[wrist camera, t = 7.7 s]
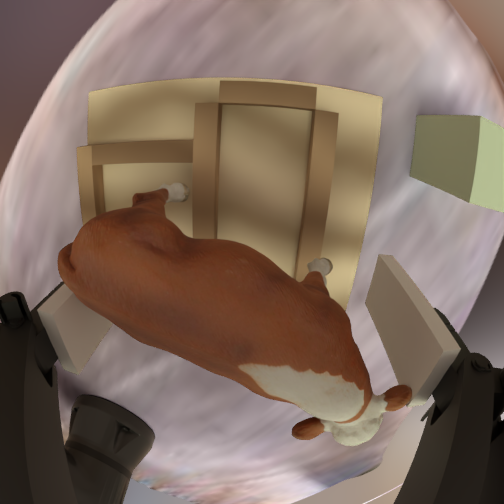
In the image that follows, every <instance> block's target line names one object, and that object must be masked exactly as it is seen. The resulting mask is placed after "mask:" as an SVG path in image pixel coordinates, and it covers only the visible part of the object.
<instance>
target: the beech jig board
mask: <svg viewBox="0 0 504 504" xmlns="http://www.w3.org/2000/svg"><path fill="white" fill-rule="evenodd" d="M382 99H383V97H379V96H375V95H371V94H367V93H362V92H358V91H353V90H348V89H343V88H337V87H331V86H325V85H318V84H311V83H304V82H295V81H285V80H273V79H258V78H190V79H174V80H163V81H153V82H144V83H137V84H130V85H123V86H117V87H112V88H106V89H101V90H96V91H92V92H89V101H88V145H87V146H82V147H77V167H78V182H79V194H80V204H81V213H82V221H83V226H84V225H85V224H86V223H87V222H88V221H89V220H90V219H92V218H94V217H96V216H97V215H99V214H101V213H105V212H108V211H112V210H116V209H121V208H128V207H132V205H133V202H132V197H133V195H134V194H136V193H146V192H151V191H154V190H156V189H158V188H159V187H160V186H161V185H162V184H164V183H165V184H167V185H172V184H173V183H183V184H185V185H186V186H187V187H188V188H189V190H190V194H189V196H188V199H187V200H186V201H185V202H175V203H174V202H168V203H166V204H165V205H164V207H165V215H166V218H167V219H169V220H170V221H172V222H173V223H174V224H175V225H176V226H177V227H178V228H179V229H180V230H181V231H182V233H183V234H185V235H186V236H188V237H191V238H195V239H225V240H231V241H236V242H239V243H242V244H245V245H247V246H249V247H251V248H253V249H255V250H257V251H258V252H260V253H262V254H263V255H265V256H266V257H268V258H269V259H270V260H272V261H273V262H274V263H275V264H276V265H277V266H278V267H280V268H281V269H282V270H283V271H284V272H285V273H287V274H288V275H289V276H291V277H292V278H294V279H295V280H296V281H298V282H301V281H303V280H304V278H305V276H306V275H307V274H308V273H309V270H308V267H307V264H308V263H310V262H312V261H313V260H314V258H318V259H321V258H327V259H329V260H330V261H331V263H332V265H333V269H332V271H331V272H330V273H329V274H328V275H326V276H325V277H326V280H327V285H326V288H327V289H328V292H329V295H330V297H331V298H332V299H334V300H335V301H336V302H337V303H338V304H340V305H341V307H342V308H343V309H344V310H345V311H346V307H347V304H348V300H349V296H350V293H351V289H352V285H353V281H354V277H355V273H356V269H357V265H358V261H359V257H360V252H361V248H362V243H363V238H364V234H365V229H366V224H367V218H368V213H369V208H370V202H371V196H372V190H373V183H374V177H375V170H376V162H377V154H378V146H379V136H380V126H381V114H382Z"/></svg>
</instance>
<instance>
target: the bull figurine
mask: <svg viewBox="0 0 504 504" xmlns="http://www.w3.org/2000/svg"><path fill="white" fill-rule="evenodd" d="M189 194H190V190H189V188H188V187H187V186H186V185H185V184H183V183H173V184H172V185H167V184H165V183H164V184H162V185H161V186H160V187H159V188H158V189H156V190H154V191H151V192H146V193H136V194H134V195H133V197H132V202H133V205H132V207H128V208H121V209H116V210H112V211H108V212H105V213H101V214H99V215H97V216H96V217H94V218H92V219H90V220H89V221H88V222H87V223H86V224H85V225H84V226H83V227H82V228H81V229H80V231H79V233H78V235H77V236H76V238H75V240H74V242H72V243H70V244H68V245H67V246H65V247H64V248H63V249H62V250H61V251H60V252H59V255H58V270H59V274H60V276H61V278H62V280H63V282H64V283H65V285H66V286H67V287H68V288H69V289H70V290H71V291H72V292H73V293H74V294H75V296H76V297H77V298H78V299H79V300H80V301H81V302H82V303H83V304H84V305H85V306H87V307H88V308H90V309H91V310H93V311H94V312H96V313H98V314H99V315H101V316H103V317H105V318H106V319H108V320H109V321H111V322H112V323H114V324H115V325H117V326H118V327H119V328H121V329H122V330H124V331H125V332H126V333H127V334H129V335H130V336H131V337H133V338H135V339H136V340H138V341H139V342H142V343H144V344H147V345H150V346H153V347H156V348H159V349H162V350H165V351H168V352H170V353H173V354H175V355H177V356H179V357H182V358H184V359H186V360H188V361H190V362H192V363H194V364H196V365H198V366H200V367H202V368H204V369H206V370H208V371H210V372H213V373H215V374H218V375H221V376H224V377H227V378H230V379H232V380H235V381H236V382H238V383H240V384H242V385H243V386H245V387H246V388H248V389H249V390H251V391H252V392H254V393H256V394H259V395H261V396H263V397H266V398H269V399H273V400H278V401H283V402H288V403H292V404H295V405H297V406H298V407H299V408H301V409H302V410H304V411H306V412H307V413H309V414H311V415H313V416H314V417H312V418H308V419H306V420H303V421H301V422H299V423H297V424H296V425H295V426H294V427H293V428H292V436H293V437H295V438H297V439H300V440H310V439H313V438H315V437H316V436H318V435H319V434H321V433H323V432H326V431H330V432H332V434H333V437H334V439H335V440H336V441H337V442H339V443H340V444H343V445H345V446H356V445H359V444H361V443H363V442H366V441H368V440H370V439H371V438H372V437H373V435H374V434H375V433H376V432H377V430H378V429H379V427H380V424H381V422H382V420H383V414H382V413H383V412H386V411H396V410H398V409H400V408H402V407H404V406H405V405H406V404H407V403H408V402H409V401H410V399H411V398H412V389H411V388H410V387H408V386H407V385H398V386H394V387H392V388H390V389H389V390H387V391H386V392H385V393H383V394H382V395H378V396H376V395H374V394H373V391H372V388H371V384H370V377H369V373H368V371H367V368H366V366H365V363H364V361H363V359H362V356H361V354H360V351H359V348H358V346H357V345H356V343H355V342H354V339H353V337H352V332H351V323H350V320H349V317H348V316H347V314H346V312H345V310H344V309H343V308H342V307H341V305H340V304H338V303H337V302H336V301H335V300H334V299H332V298H331V297H330V295H329V292H328V289H327V288H326V285H327V280H326V277H325V276H326V275H328V274H329V273H330V272H331V271H332V269H333V265H332V263H331V261H330V260H329V259H327V258H321V259H318V258H314V260H313V261H312V262H310V263H308V264H307V267H308V270H309V273H308V274H307V275H306V276H305V278H304V280H303V281H301V282H298V281H296V280H295V279H294V278H292V277H291V276H289V275H288V274H287V273H285V272H284V271H283V270H282V269H281V268H280V267H278V266H277V265H276V264H275V263H274V262H273V261H272V260H270V259H269V258H268V257H266V256H265V255H263V254H262V253H260V252H258V251H257V250H255V249H253V248H251V247H249V246H247V245H245V244H242V243H239V242H236V241H231V240H225V239H195V238H191V237H188V236H186V235H185V234H183V233H182V231H181V230H180V229H179V228H178V227H177V226H176V225H175V224H174V223H173V222H172V221H170V220H169V219H167V218H166V215H165V207H164V205H165V204H166V203H168V202H174V203H175V202H185V201H186V200H187V199H188V196H189Z"/></svg>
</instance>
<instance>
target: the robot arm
mask: <svg viewBox="0 0 504 504" xmlns="http://www.w3.org/2000/svg"><path fill="white" fill-rule="evenodd" d="M365 304H366V306H367V308H368V311H369V313H370V315H371V317H372V320H373V322H374V324H375V326H376V329H377V331H378V333H379V336H380V338H381V340H382V343H383V345H384V348H385V350H386V353H387V355H388V358H389V360H390V363H391V365H392V368H393V370H394V373H395V376H396V378H397V381H398V383H399V385H407V386H408V387H410V388H411V389H412V398H411V399H410V401H409V402H408V403H407V404H406V406H407V407H413V406H419V405H424V404H425V402H426V401H427V400H428V399H429V397H430V396H431V394H432V395H433V397H434V400H435V402H434V403H433V404H432V406H431V407H430V408H429V410H428V411H427V412H426V413H425V415H424V416H423V417H422V419H421V421H424V419H425V418H426V417H427V416H428V418H427V421H426V425H425V428H424V431H423V434H422V437H421V440H420V443H419V446H418V449H417V451H416V454H415V457H414V460H413V462H412V465H411V467H410V469H409V472H408V474H407V476H406V479H405V481H404V483H403V485H402V488H401V490H400V492H399V494H398V496H397V498H396V500H395V502H394V504H504V420H503V421H502V420H501V416H500V415H501V414H502V413H503V412H504V368H503V369H500V368H493V367H492V364H491V363H490V361H489V360H488V359H487V358H486V357H485V356H483V355H481V354H479V353H470V352H469V350H468V349H467V347H466V345H465V344H464V342H463V341H462V339H461V338H460V336H459V335H458V333H457V332H455V329H454V328H453V326H452V325H450V322H449V321H448V319H447V318H446V316H445V315H444V314H443V313H441V312H440V311H439V310H438V309H436V308H433V307H432V306H431V304H430V303H429V302H428V300H427V299H426V298H425V296H424V295H423V293H422V292H421V291H420V290H419V288H418V287H417V286H416V284H415V283H414V282H413V280H412V279H411V278H410V277H409V275H408V274H407V273H406V272H405V270H404V269H403V268H402V267H401V265H400V264H399V263H398V262H397V260H396V259H395V258H394V257H393V256H391V255H381V254H379V256H378V259H377V263H376V267H375V271H374V274H373V278H372V282H371V285H370V288H369V292H368V295H367V298H366V302H365ZM0 319H1V322H2V323H0V504H123V501H124V497H125V494H126V491H127V488H128V484H129V481H130V478H131V475H132V472H133V470H134V469H135V468H136V467H137V465H138V464H139V463H140V462H141V461H142V459H143V458H144V457H145V456H146V455H147V454H148V452H149V451H150V450H151V448H152V445H153V442H154V439H155V436H154V433H153V432H152V430H151V429H150V428H149V427H148V426H147V425H146V424H145V423H144V422H143V421H142V420H140V419H139V418H138V417H136V416H135V415H133V414H132V413H130V412H129V411H127V410H125V409H123V408H122V407H120V406H118V405H116V404H114V403H111V402H109V401H107V400H104V399H101V398H98V397H95V396H90V395H81V396H79V397H78V398H77V399H76V401H75V403H74V405H73V407H72V412H71V419H70V427H69V436H68V439H67V441H66V443H65V445H64V441H63V435H62V428H61V420H60V411H59V400H58V384H57V370H56V367H55V366H54V363H55V362H56V361H57V359H59V361H60V363H61V365H62V367H63V369H64V370H66V371H69V372H72V373H74V374H77V375H79V374H80V373H81V371H82V369H83V368H84V366H85V365H86V363H87V362H88V360H89V359H90V357H91V356H92V354H93V353H94V351H95V350H96V348H97V347H98V345H99V344H100V342H101V341H102V339H103V338H104V336H105V335H106V333H107V332H108V330H109V329H110V327H111V326H112V325H113V323H112V322H111V321H109V320H108V319H106V318H105V317H103V316H101V315H99V314H98V313H96V312H94V311H93V310H91V309H90V308H88V307H87V306H85V305H84V304H83V303H82V302H81V301H80V300H79V299H78V298H77V297H76V296H75V294H74V293H73V292H72V291H71V290H70V289H69V288H68V287H67V286H66V285H65V283H64V282H61V283H60V284H59V285H58V286H57V287H56V288H55V289H54V290H52V291H51V292H50V293H49V294H48V296H46V297H45V298H44V299H43V300H42V301H41V302H40V303H39V304H38V305H37V306H36V307H35V308H34V309H33V310H32V311H31V312H30V310H29V308H28V305H27V302H26V300H25V297H24V295H23V294H22V293H21V292H18V291H17V292H10V293H7V294H5V295H3V296H1V297H0Z"/></svg>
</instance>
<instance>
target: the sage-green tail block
mask: <svg viewBox="0 0 504 504" xmlns="http://www.w3.org/2000/svg"><path fill="white" fill-rule="evenodd" d="M410 177H413V178H415V179H418V180H420V181H422V182H425V183H427V184H430V185H432V186H434V187H436V188H439V189H441V190H443V191H445V192H448V193H450V194H452V195H454V196H456V197H458V198H460V199H462V200H464V201H466V202H468V203H471V204H475V205H479V206H482V207H486V208H489V209H493V210H496V211H500V212H503V213H504V128H502V127H501V126H499V125H497V124H495V123H493V122H491V121H489V120H488V119H486V118H484V117H482V116H470V115H418V116H416V128H415V138H414V147H413V155H412V163H411V170H410Z"/></svg>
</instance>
